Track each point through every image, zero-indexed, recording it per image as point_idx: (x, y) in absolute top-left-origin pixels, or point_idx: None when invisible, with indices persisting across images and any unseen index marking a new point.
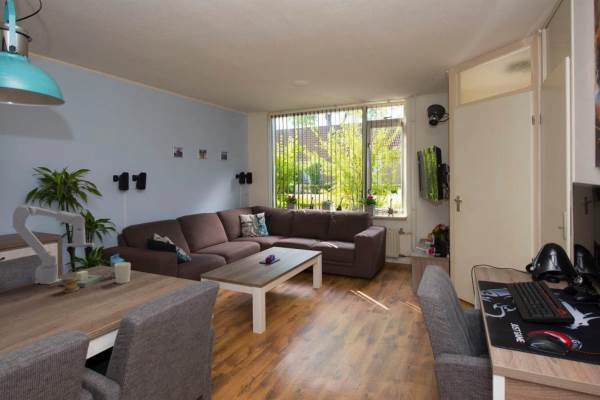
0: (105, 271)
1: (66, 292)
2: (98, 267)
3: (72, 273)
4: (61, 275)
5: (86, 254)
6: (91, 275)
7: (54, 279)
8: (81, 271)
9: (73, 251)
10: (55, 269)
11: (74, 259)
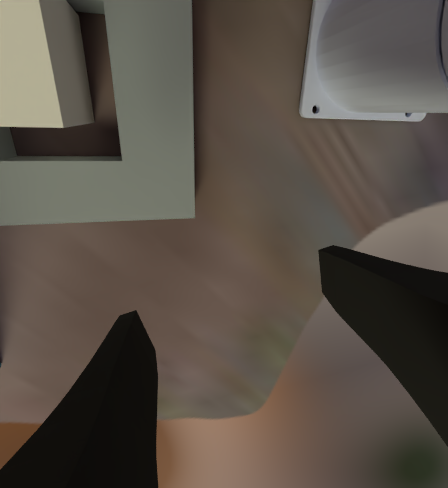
0: None
1: None
2: (254, 399)
3: None
4: (367, 224)
5: (99, 380)
6: (74, 208)
7: (329, 28)
8: (41, 79)
9: (430, 371)
10: (398, 16)
11: (322, 281)
